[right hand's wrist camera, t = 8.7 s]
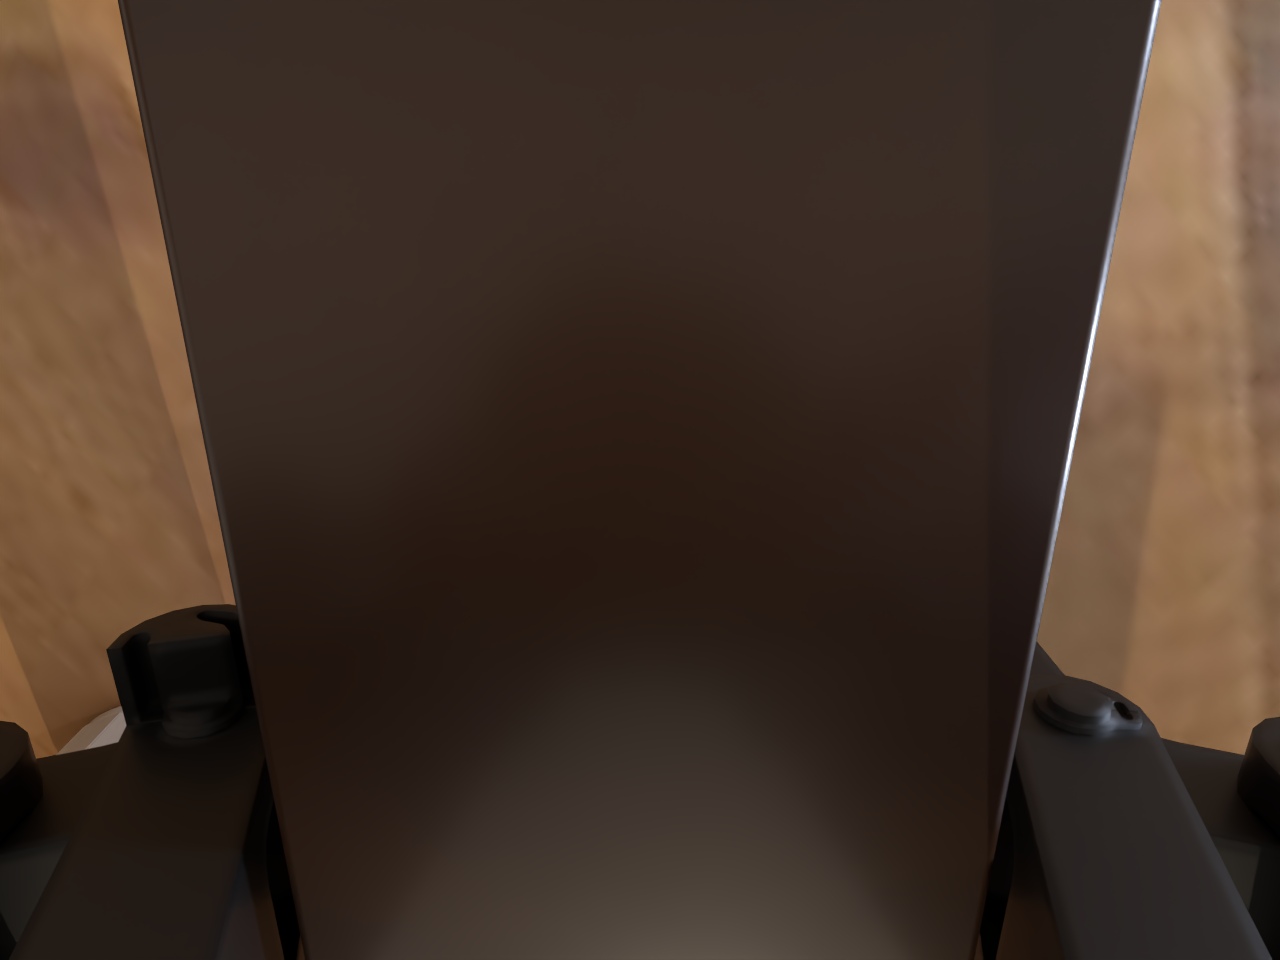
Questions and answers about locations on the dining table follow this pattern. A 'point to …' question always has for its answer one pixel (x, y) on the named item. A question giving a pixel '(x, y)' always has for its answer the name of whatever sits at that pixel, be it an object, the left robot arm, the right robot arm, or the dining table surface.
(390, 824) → the walnut box
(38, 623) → the dining table surface
